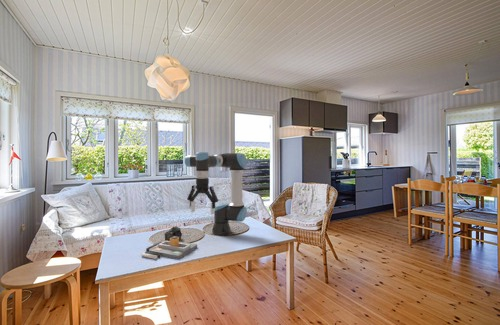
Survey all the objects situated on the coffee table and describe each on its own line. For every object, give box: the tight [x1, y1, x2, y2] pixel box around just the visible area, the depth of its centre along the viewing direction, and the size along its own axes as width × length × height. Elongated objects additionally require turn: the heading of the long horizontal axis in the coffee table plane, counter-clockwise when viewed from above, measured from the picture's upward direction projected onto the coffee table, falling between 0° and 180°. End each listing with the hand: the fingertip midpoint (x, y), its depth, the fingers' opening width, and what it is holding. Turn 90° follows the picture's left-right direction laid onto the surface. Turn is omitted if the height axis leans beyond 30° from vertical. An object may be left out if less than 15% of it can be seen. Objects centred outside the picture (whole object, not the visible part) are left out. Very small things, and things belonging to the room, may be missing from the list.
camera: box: [164, 225, 183, 241], centre depth 178 cm, size 13×10×10 cm
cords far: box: [140, 251, 162, 260], centre depth 148 cm, size 12×5×2 cm, turn 69°
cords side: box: [145, 241, 163, 252], centre depth 162 cm, size 14×5×2 cm, turn 159°
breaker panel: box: [149, 240, 198, 260], centre depth 158 cm, size 20×22×4 cm
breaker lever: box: [170, 236, 180, 247], centre depth 158 cm, size 4×4×7 cm
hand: (202, 212), depth 145 cm, fingers open, 13 cm apart
